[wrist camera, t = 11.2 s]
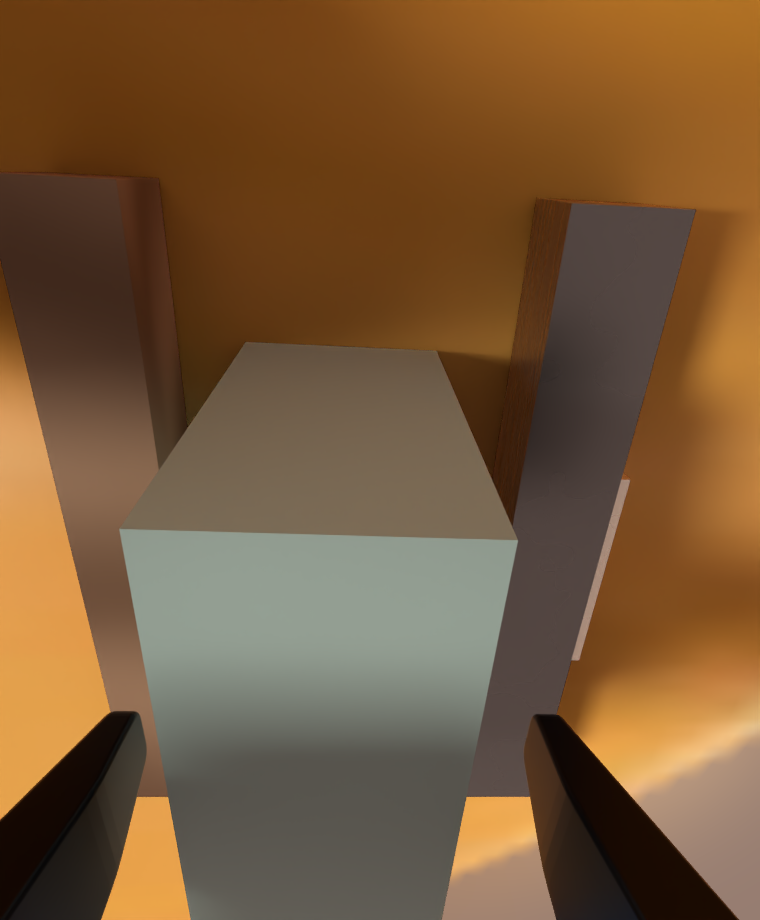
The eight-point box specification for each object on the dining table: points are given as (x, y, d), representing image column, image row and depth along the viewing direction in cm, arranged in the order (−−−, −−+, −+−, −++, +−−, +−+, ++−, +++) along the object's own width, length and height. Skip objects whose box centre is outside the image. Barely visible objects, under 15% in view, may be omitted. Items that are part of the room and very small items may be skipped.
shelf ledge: (45, 172, 10) (-21, 172, 8) (158, 178, 10) (115, 179, 8) (155, 731, 17) (131, 796, 15) (222, 731, 17) (206, 796, 15)
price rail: (536, 197, 11) (571, 203, 9) (655, 204, 11) (714, 210, 9) (451, 732, 17) (462, 796, 16) (525, 733, 18) (544, 796, 16)
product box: (262, 656, 16) (200, 969, 10) (246, 340, 12) (118, 528, 6) (411, 658, 16) (444, 965, 10) (445, 350, 12) (536, 540, 6)
